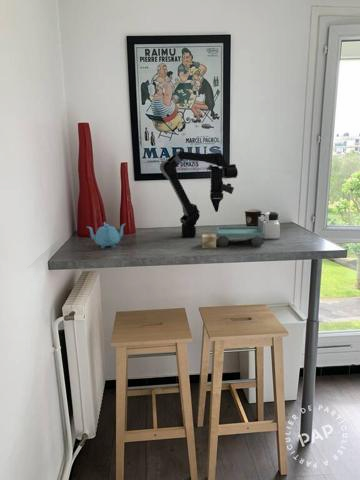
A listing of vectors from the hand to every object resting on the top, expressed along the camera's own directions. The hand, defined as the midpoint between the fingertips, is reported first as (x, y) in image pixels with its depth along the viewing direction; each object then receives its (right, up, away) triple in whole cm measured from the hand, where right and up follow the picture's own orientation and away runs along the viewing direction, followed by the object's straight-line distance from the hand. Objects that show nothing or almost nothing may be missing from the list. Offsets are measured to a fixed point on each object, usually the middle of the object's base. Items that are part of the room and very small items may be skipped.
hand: (216, 210), depth 180 cm
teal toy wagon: (+9, -16, -16) cm, 25 cm away
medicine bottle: (+26, -14, -7) cm, 30 cm away
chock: (-5, -18, -21) cm, 28 cm away
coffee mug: (+21, -10, +10) cm, 25 cm away
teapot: (-52, -18, -16) cm, 57 cm away
